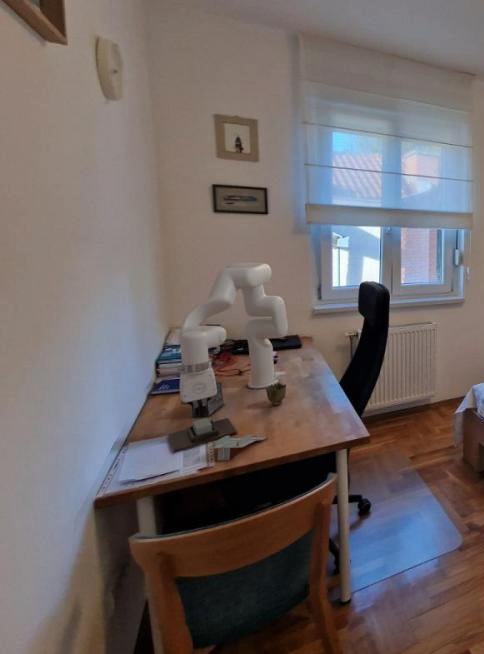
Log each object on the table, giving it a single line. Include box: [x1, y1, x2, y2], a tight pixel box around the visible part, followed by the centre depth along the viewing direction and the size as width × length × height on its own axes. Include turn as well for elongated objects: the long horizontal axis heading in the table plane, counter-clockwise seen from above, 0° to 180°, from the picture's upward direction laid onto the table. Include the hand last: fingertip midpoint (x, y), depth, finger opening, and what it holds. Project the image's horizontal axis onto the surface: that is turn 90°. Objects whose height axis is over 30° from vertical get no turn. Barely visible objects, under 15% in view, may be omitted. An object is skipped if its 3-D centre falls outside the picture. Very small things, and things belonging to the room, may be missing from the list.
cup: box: [265, 382, 287, 407], centre depth 172 cm, size 8×7×8 cm
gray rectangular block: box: [191, 417, 212, 436], centre depth 147 cm, size 4×7×4 cm, turn 46°
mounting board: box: [168, 417, 238, 454], centre depth 147 cm, size 18×14×2 cm
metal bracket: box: [205, 434, 267, 462], centre depth 139 cm, size 14×6×15 cm
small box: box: [191, 381, 225, 418], centre depth 165 cm, size 11×6×10 cm, turn 5°
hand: (200, 416), depth 146 cm, fingers closed
